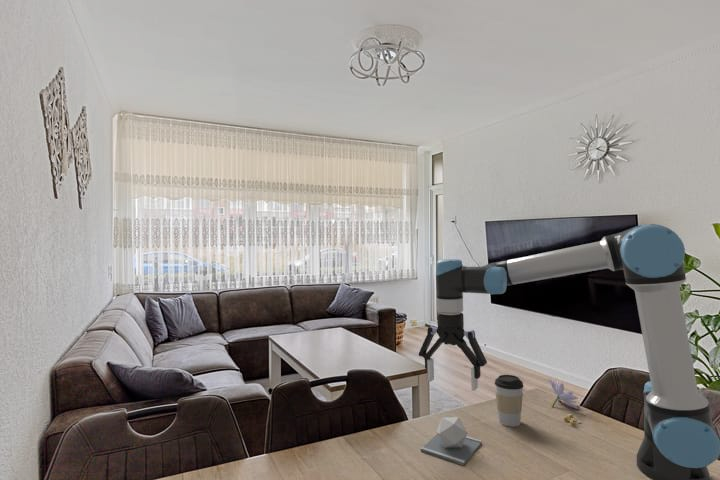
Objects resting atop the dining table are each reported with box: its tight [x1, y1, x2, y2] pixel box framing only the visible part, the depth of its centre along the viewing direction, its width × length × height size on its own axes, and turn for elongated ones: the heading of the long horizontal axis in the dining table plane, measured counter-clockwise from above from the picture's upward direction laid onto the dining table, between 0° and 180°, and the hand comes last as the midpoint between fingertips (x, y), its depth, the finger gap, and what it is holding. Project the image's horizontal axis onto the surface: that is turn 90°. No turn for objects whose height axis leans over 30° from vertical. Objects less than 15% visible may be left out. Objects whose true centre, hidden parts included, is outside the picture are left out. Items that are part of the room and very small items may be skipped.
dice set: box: [563, 413, 582, 427], centre depth 137 cm, size 5×5×2 cm
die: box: [435, 416, 469, 448], centre depth 122 cm, size 8×9×10 cm
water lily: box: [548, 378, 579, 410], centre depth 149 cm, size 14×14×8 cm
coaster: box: [420, 434, 483, 466], centre depth 122 cm, size 13×14×1 cm
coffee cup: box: [494, 374, 524, 427], centre depth 138 cm, size 9×9×15 cm
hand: (452, 384), depth 122 cm, fingers open, 13 cm apart
